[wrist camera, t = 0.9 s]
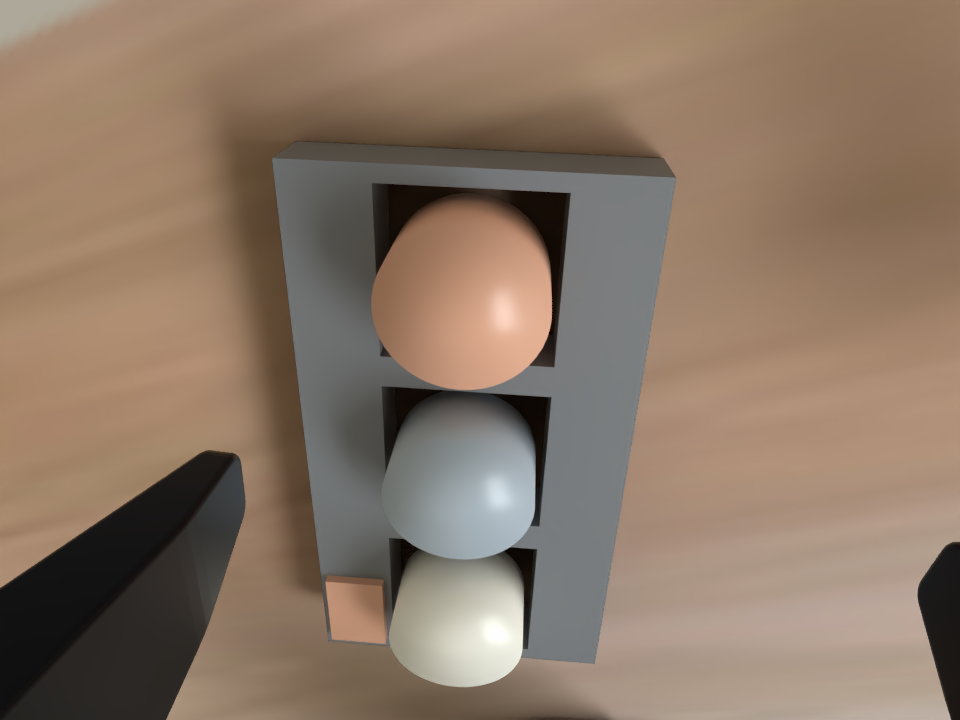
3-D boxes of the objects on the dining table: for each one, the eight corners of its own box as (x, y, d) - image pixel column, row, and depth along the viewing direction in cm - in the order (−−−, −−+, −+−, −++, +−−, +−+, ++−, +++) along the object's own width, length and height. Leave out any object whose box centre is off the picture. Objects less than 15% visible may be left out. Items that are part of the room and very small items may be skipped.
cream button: (520, 629, 26) (518, 692, 24) (404, 619, 26) (391, 681, 24) (528, 542, 24) (526, 602, 21) (401, 532, 24) (386, 591, 22)
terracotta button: (544, 347, 20) (544, 395, 18) (394, 338, 20) (375, 384, 18) (557, 197, 18) (559, 230, 16) (388, 189, 18) (366, 220, 16)
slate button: (531, 506, 23) (529, 565, 21) (399, 497, 23) (384, 553, 21) (540, 394, 21) (540, 445, 19) (395, 384, 21) (377, 434, 19)
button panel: (591, 619, 27) (595, 671, 25) (341, 599, 28) (326, 647, 26) (663, 158, 19) (678, 181, 17) (296, 141, 19) (267, 161, 17)
